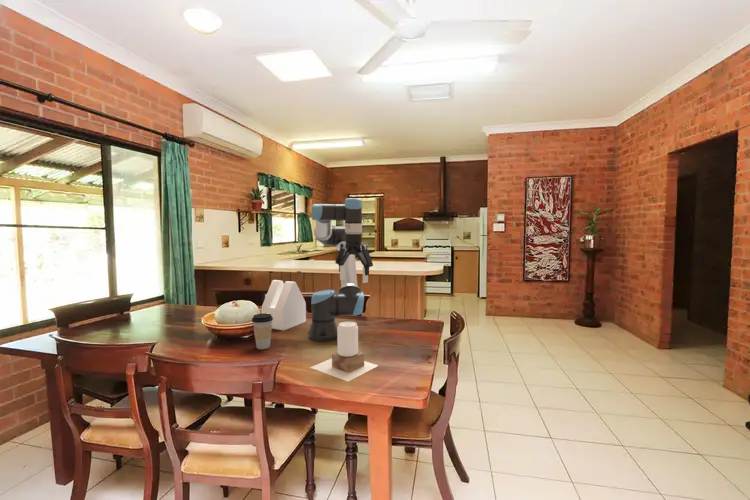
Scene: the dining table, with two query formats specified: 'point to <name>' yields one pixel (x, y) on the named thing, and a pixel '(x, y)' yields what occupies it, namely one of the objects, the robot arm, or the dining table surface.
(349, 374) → the build board
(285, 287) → the white slotted holder
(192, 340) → the dining table surface
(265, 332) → the coffee cup
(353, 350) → the beverage can
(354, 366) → the walnut block
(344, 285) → the robot arm
